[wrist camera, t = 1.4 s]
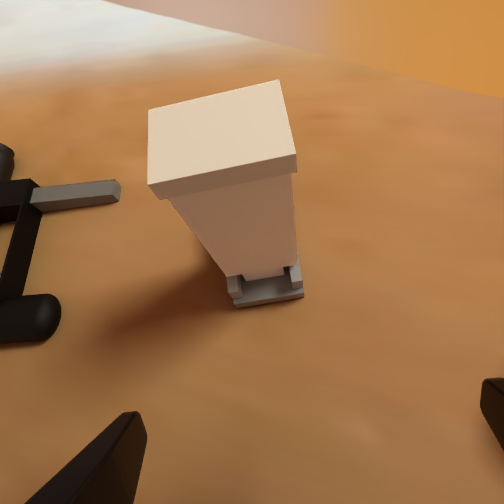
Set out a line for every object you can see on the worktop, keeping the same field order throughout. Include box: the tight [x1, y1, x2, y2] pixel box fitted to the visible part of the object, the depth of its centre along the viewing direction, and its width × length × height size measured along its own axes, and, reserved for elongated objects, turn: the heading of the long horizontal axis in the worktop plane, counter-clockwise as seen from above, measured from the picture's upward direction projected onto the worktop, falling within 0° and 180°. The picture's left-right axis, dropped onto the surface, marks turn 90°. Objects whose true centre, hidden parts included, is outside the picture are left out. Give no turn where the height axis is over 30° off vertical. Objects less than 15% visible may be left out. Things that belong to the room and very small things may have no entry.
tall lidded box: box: [147, 79, 298, 281], centre depth 17 cm, size 4×5×13 cm
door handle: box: [0, 143, 121, 344], centre depth 28 cm, size 3×20×16 cm
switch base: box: [225, 255, 304, 308], centre depth 24 cm, size 12×5×3 cm, turn 7°
